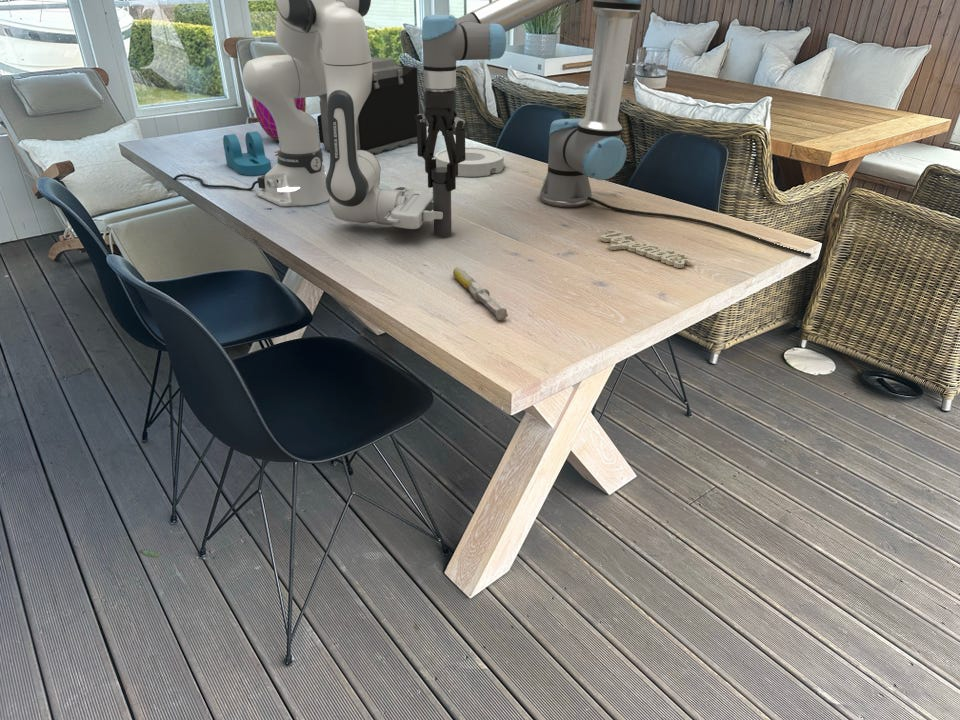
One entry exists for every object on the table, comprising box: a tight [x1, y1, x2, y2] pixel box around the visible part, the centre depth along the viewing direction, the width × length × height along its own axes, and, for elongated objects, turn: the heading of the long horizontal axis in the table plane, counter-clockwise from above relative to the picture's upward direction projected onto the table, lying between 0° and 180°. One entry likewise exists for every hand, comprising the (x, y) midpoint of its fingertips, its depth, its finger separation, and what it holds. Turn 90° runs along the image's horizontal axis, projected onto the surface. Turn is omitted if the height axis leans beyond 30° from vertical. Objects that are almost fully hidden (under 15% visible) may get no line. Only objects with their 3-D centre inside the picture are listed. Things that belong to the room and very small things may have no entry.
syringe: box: [452, 266, 509, 321], centre depth 145 cm, size 25×4×3 cm, turn 21°
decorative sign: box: [600, 229, 691, 269], centre depth 168 cm, size 26×1×10 cm
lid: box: [431, 167, 447, 181], centre depth 169 cm, size 5×5×2 cm
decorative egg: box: [251, 54, 307, 141], centre depth 257 cm, size 19×19×30 cm
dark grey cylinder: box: [432, 180, 453, 239], centre depth 173 cm, size 5×5×16 cm
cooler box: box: [316, 56, 421, 155], centre depth 250 cm, size 37×22×30 cm, turn 144°
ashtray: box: [434, 146, 505, 178], centre depth 232 cm, size 23×23×4 cm
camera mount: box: [222, 131, 272, 176], centre depth 226 cm, size 18×10×10 cm, turn 35°
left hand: (445, 211), depth 174 cm, fingers closed on dark grey cylinder, 4 cm apart
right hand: (441, 187), depth 171 cm, fingers closed on lid, 5 cm apart
